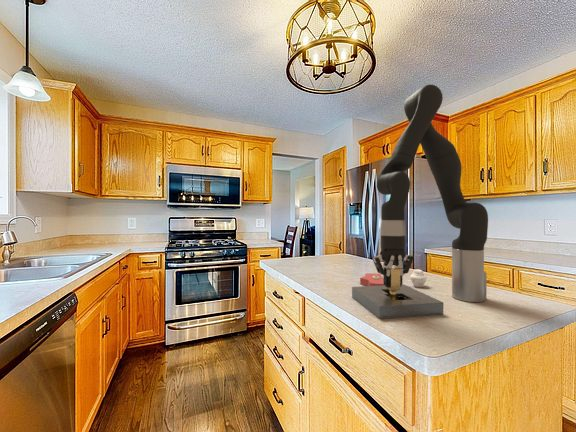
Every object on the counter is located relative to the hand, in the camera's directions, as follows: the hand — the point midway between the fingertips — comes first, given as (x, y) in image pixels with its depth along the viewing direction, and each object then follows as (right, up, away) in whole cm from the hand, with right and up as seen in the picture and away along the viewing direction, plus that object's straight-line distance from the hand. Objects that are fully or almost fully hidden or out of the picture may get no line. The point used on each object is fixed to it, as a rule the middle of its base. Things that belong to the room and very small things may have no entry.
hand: (392, 286), depth 87 cm
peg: (0, -6, 0) cm, 6 cm away
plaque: (+4, -6, +24) cm, 25 cm away
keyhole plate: (0, -6, 0) cm, 6 cm away
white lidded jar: (+19, -6, +22) cm, 29 cm away
